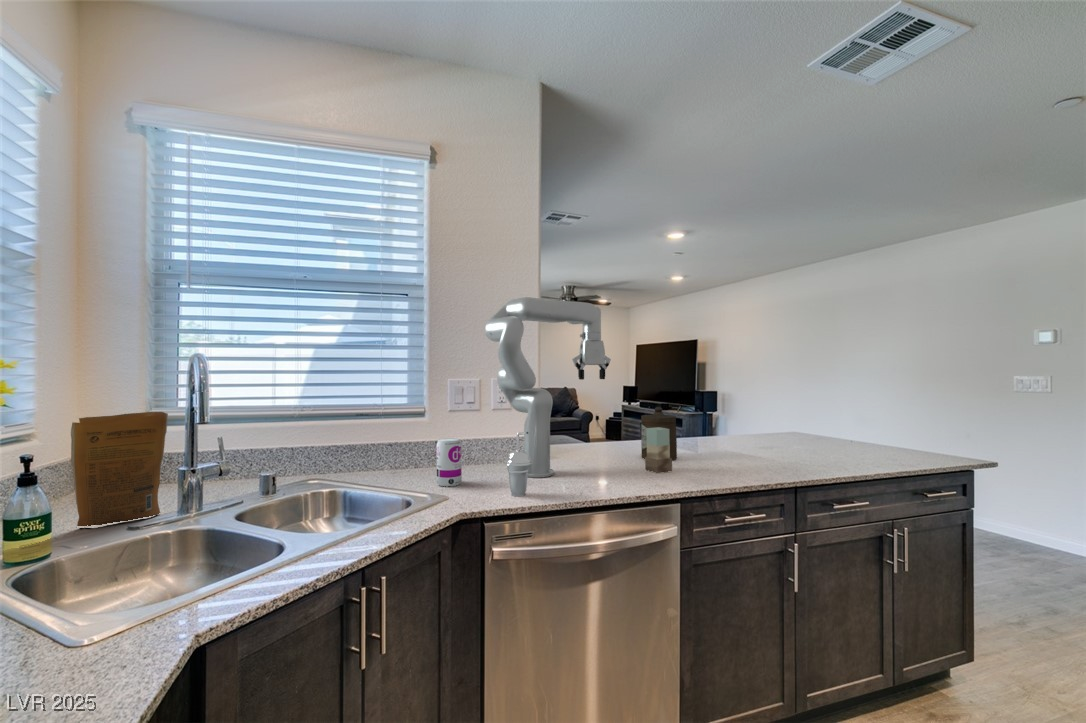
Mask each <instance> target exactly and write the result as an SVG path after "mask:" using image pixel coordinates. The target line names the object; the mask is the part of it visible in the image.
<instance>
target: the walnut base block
mask: <svg viewBox="0 0 1086 723" xmlns="http://www.w3.org/2000/svg"><path fill="white" fill-rule="evenodd" d="M644 466H645V469H646V471H648V470H649V471H648V472H651V471H653V472H652V473H654V472H656V473H655V474H661V473H660V472H664V473H669V472H668V471H672V472H673V460H672V458H668V459H660V460H656V459H652V458H648V457H645V459H644ZM645 469H644V470H645Z"/></svg>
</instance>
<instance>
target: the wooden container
mask: <svg viewBox="0 0 1086 723" xmlns="http://www.w3.org/2000/svg"><path fill="white" fill-rule="evenodd" d="M640 417H641V420H640V421H641V422H640V423H641V426H640V428H641V431H640V432H641V433H640V434H641V436H640V437H641V438H640V440H641V441H640V442H641V443H640V444H641V445H640V446H641V458H642V459H643V458H644V459H643V460H645V457H647V432H646V428H657V427H660V428H666V429H669V445H670V458H672V461H675V460H677V458H678V453H677V452H678V450H677V449H678V444H677V443H678V442H677V441H678V440H677V416H676V415H672V414H671V415H670V414H664V413H663V408H662V407H661V406H656V407H654V412H653V413H652V414H642V415H641V416H640Z"/></svg>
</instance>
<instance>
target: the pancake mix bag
mask: <svg viewBox="0 0 1086 723" xmlns="http://www.w3.org/2000/svg"><path fill="white" fill-rule="evenodd" d="M168 416H169V413H167V412H164V411H145V412H134V413H133V412H131V413H123V414H122V413H121V414H115V415H114V414H113V415H102V416H100V415H99V416H86V417H79V418H78V420H79V422H73V421H72V423H71V427H70V439H71V442H70V455H71V456H70V464H71V466H72V469H71V470H72V471H71V473H72V479H73V485H74V493H75V504H76V508H77V514H78V521H77V524H76V527H77V526H87V525H88V526H91V525H102V524H107V523H113V522H120V521H128V520H133V519H138V518H143V517H149V516H153V515H156V514H159V513H161V510H160V505H159V500H158V498H159V496H158V495H159V489H160V484H161V467H162V462H163V460H164V459H163V458H164V453H165V444H166V443H165V442H166V434H167V431H168V430H167V429H168V418H169V417H168ZM159 515H160V514H159Z"/></svg>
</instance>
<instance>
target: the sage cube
mask: <svg viewBox="0 0 1086 723" xmlns="http://www.w3.org/2000/svg"><path fill="white" fill-rule="evenodd" d="M646 432H647V444H649V445H653V446H665V445H669V429H666V428H660V427H657V428H646Z"/></svg>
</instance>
